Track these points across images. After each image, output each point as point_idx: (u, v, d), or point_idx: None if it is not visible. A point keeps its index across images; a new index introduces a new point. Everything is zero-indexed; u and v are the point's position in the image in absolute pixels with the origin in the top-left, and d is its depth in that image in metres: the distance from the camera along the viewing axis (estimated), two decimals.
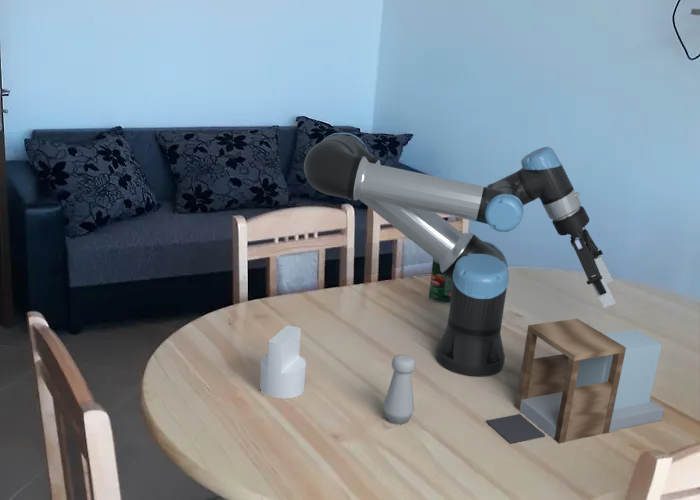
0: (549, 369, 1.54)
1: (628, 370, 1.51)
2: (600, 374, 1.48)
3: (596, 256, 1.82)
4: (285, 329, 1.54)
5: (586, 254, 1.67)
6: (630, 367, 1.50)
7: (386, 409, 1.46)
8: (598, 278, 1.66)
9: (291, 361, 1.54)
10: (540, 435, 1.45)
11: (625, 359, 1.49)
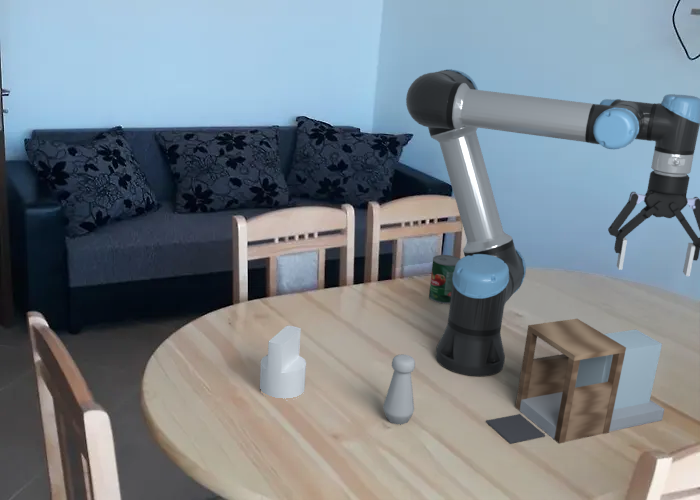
0: (549, 369, 1.54)
1: (628, 370, 1.51)
2: (600, 374, 1.48)
3: (694, 244, 1.61)
4: (285, 329, 1.54)
5: (625, 209, 1.61)
6: (630, 367, 1.50)
7: (386, 409, 1.46)
8: (609, 232, 1.63)
9: (291, 361, 1.54)
10: (540, 435, 1.45)
11: (625, 359, 1.49)
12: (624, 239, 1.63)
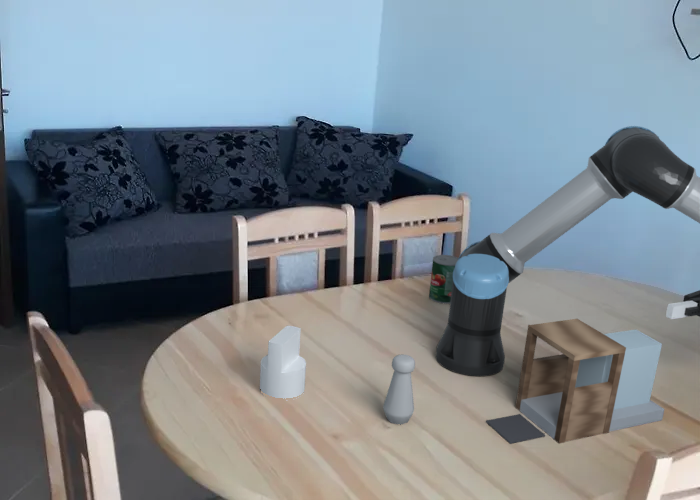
0: (549, 369, 1.54)
1: (628, 370, 1.51)
2: (600, 374, 1.48)
3: None
4: (285, 329, 1.54)
5: None
6: (630, 367, 1.50)
7: (386, 409, 1.46)
8: None
9: (291, 361, 1.54)
10: (540, 435, 1.45)
11: (625, 359, 1.49)
12: None
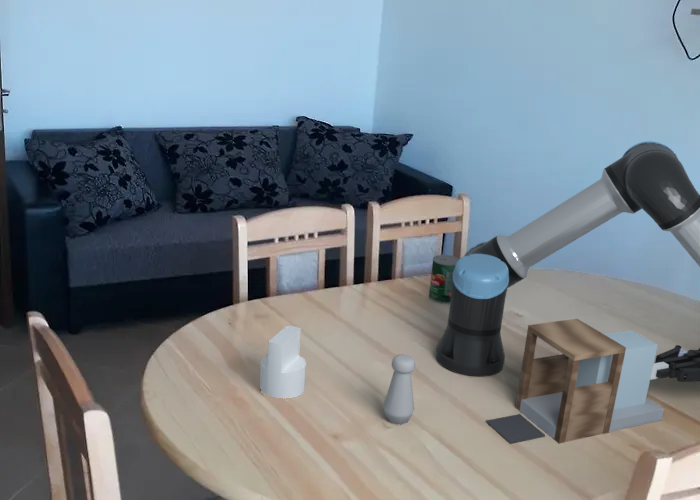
0: (549, 369, 1.54)
1: (623, 371, 1.50)
2: (595, 375, 1.48)
3: None
4: (285, 329, 1.54)
5: None
6: (625, 368, 1.50)
7: (386, 409, 1.46)
8: (682, 380, 1.57)
9: (291, 361, 1.54)
10: (540, 435, 1.45)
11: None
12: None
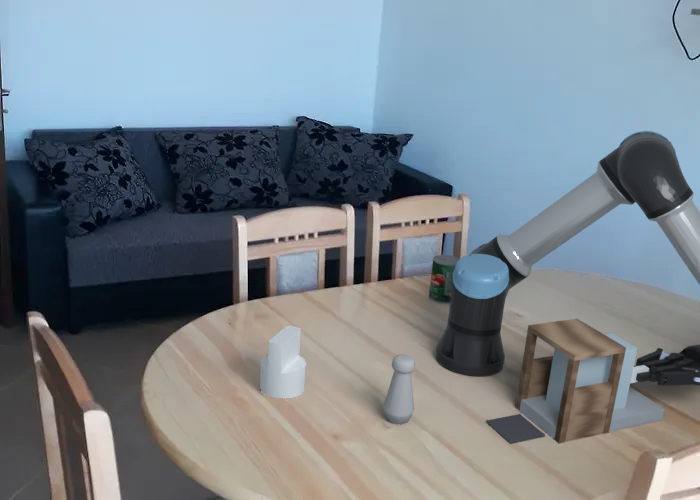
0: (549, 369, 1.54)
1: (602, 375, 1.48)
2: None
3: None
4: (285, 329, 1.54)
5: (687, 382, 1.56)
6: (604, 372, 1.48)
7: (386, 409, 1.46)
8: (663, 384, 1.55)
9: (291, 361, 1.54)
10: (540, 435, 1.45)
11: (599, 364, 1.46)
12: None
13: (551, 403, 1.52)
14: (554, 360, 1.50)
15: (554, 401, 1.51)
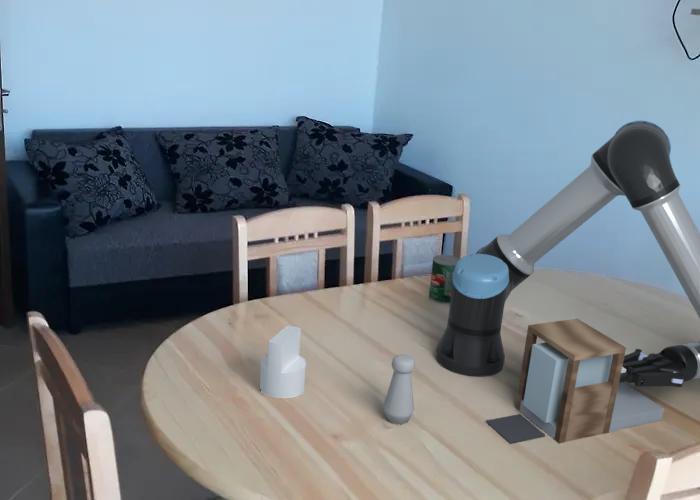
0: None
1: (580, 379, 1.46)
2: (550, 383, 1.43)
3: None
4: (285, 329, 1.54)
5: (664, 383, 1.54)
6: (582, 375, 1.46)
7: (386, 409, 1.46)
8: (640, 385, 1.53)
9: (291, 361, 1.54)
10: (540, 435, 1.45)
11: None
12: None
13: (528, 407, 1.50)
14: (531, 363, 1.48)
15: (531, 405, 1.49)
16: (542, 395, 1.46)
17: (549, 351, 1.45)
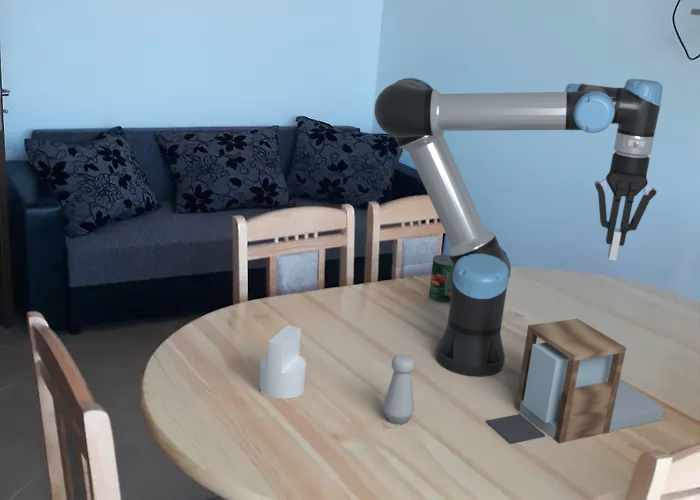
0: None
1: (580, 379, 1.46)
2: (550, 383, 1.43)
3: (620, 228, 1.70)
4: (285, 329, 1.54)
5: (599, 199, 1.69)
6: (582, 375, 1.46)
7: (386, 409, 1.46)
8: (601, 223, 1.70)
9: (291, 361, 1.54)
10: (540, 435, 1.45)
11: None
12: (615, 231, 1.70)
13: (528, 407, 1.50)
14: (531, 363, 1.48)
15: (531, 405, 1.49)
16: (542, 395, 1.46)
17: (549, 351, 1.45)
